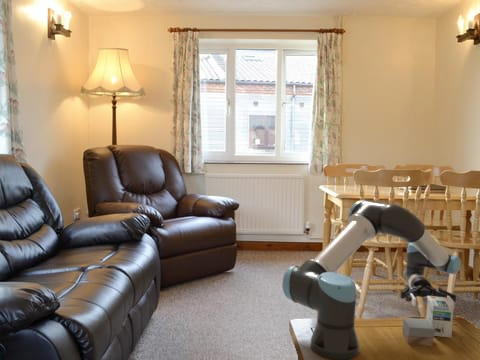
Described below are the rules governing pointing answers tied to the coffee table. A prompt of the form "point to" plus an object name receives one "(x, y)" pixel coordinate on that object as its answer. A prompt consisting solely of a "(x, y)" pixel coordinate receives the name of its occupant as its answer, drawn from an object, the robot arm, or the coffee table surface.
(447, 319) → the light bulb box
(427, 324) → the grey square tile
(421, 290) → the robot arm
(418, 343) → the walnut base block
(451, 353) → the coffee table surface
